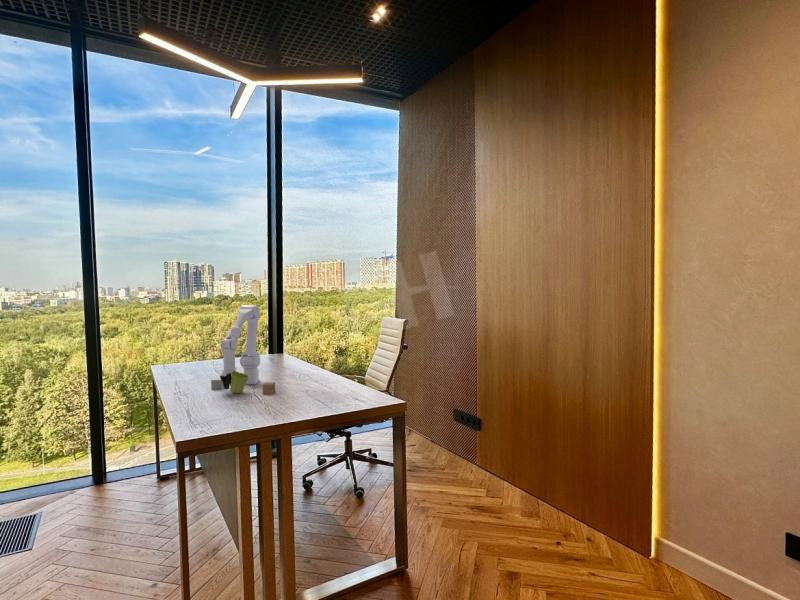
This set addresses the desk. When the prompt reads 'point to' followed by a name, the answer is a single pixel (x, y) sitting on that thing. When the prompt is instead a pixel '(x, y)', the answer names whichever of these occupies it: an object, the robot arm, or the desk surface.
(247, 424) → the desk surface
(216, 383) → the slate block
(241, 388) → the plant pot
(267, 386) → the walnut block
